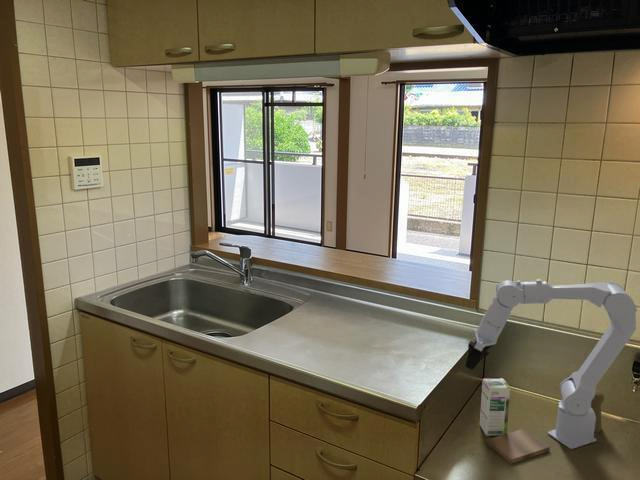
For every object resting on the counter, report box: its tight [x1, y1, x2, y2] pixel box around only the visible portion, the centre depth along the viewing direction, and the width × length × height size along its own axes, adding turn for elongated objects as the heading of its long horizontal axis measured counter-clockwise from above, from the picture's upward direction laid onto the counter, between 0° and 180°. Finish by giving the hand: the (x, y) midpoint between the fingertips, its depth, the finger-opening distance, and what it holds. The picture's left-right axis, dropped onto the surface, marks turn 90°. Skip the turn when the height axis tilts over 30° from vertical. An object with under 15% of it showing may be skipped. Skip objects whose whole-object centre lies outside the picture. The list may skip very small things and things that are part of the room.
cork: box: [591, 388, 605, 433], centre depth 146 cm, size 6×6×11 cm
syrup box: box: [479, 377, 511, 437], centre depth 143 cm, size 6×6×14 cm
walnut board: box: [485, 428, 551, 465], centre depth 137 cm, size 13×9×1 cm
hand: (472, 363), depth 145 cm, fingers open, 7 cm apart
